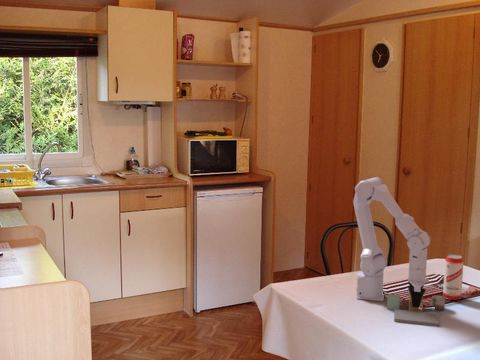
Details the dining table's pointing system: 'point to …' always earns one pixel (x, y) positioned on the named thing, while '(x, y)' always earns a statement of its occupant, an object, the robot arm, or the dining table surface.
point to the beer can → (453, 277)
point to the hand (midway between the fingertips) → (415, 304)
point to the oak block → (414, 307)
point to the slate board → (416, 317)
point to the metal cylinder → (438, 303)
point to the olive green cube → (393, 302)
